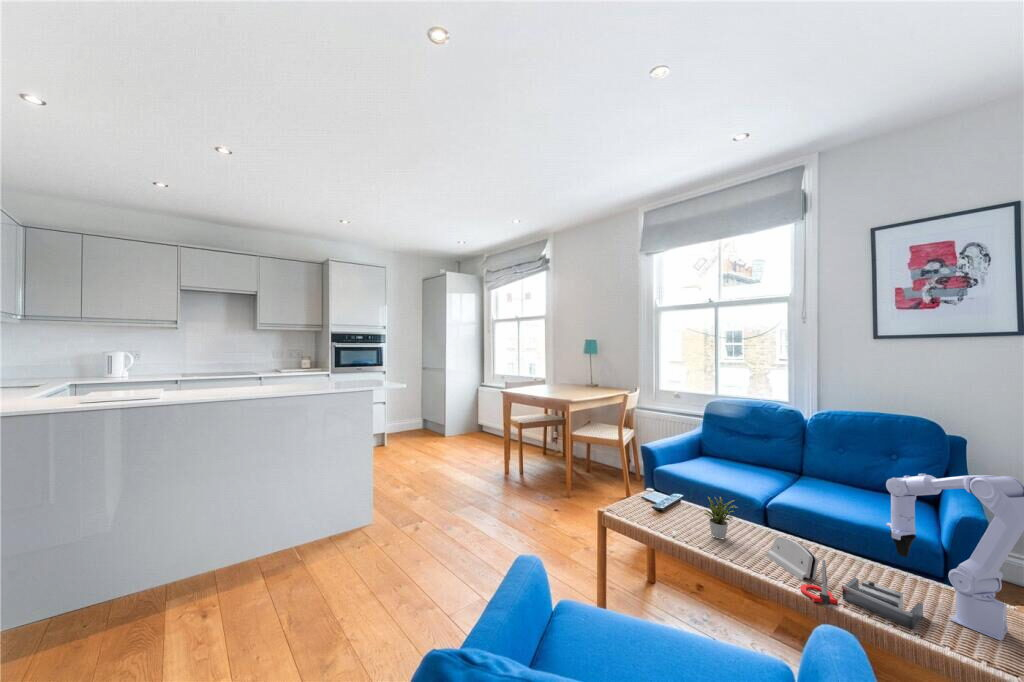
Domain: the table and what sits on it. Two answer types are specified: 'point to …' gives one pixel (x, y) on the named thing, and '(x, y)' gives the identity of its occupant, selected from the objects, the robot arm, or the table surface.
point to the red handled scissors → (825, 595)
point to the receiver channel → (881, 605)
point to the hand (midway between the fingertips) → (902, 555)
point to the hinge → (794, 558)
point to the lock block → (882, 593)
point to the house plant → (719, 518)
